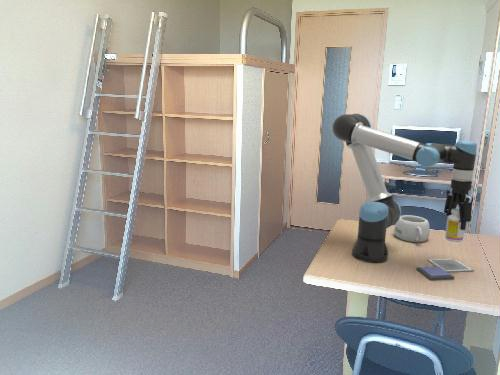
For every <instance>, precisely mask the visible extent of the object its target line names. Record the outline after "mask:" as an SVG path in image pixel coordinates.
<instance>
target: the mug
mask: <svg viewBox="0 0 500 375" xmlns="http://www.w3.org/2000/svg"><path fill="white" fill-rule="evenodd" d="M393 233H394V236H396V238H398V239H399V240H402V241H405V242H412V243H422V242H426V241H427V240H429V237H430V222H429V221H428V219H426V218H424V217H422V216H417V215H410V214H403V215H401V216H400V219H399V220H398V221H397V222H396V223H395V224H394V229H393Z"/></svg>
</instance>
